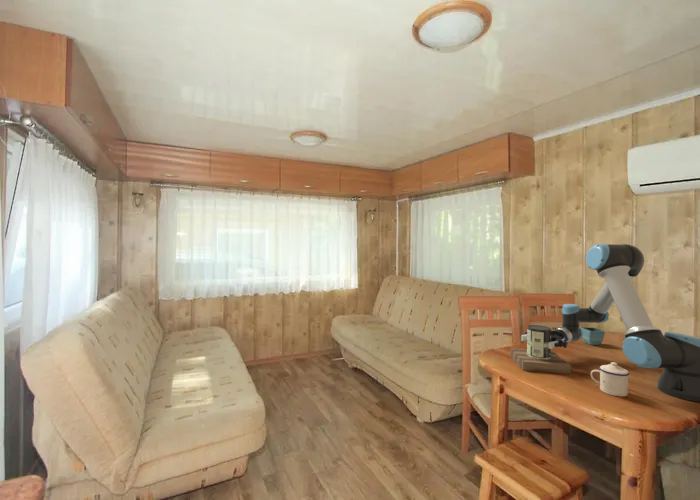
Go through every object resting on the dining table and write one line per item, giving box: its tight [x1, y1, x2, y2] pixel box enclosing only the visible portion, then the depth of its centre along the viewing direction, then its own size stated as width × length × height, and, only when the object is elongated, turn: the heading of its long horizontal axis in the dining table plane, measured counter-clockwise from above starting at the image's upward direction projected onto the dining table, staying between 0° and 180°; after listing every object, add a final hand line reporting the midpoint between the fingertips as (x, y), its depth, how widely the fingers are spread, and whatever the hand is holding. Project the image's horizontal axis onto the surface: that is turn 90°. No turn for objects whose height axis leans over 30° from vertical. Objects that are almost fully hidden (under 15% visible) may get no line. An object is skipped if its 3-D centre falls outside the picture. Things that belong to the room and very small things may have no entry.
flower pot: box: [579, 326, 606, 346], centre depth 193 cm, size 9×9×9 cm
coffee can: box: [526, 324, 552, 360], centre depth 159 cm, size 10×10×14 cm
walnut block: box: [510, 348, 572, 375], centre depth 159 cm, size 20×20×4 cm
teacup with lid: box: [590, 361, 630, 398], centre depth 130 cm, size 12×9×12 cm
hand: (535, 341), depth 158 cm, fingers open, 13 cm apart
